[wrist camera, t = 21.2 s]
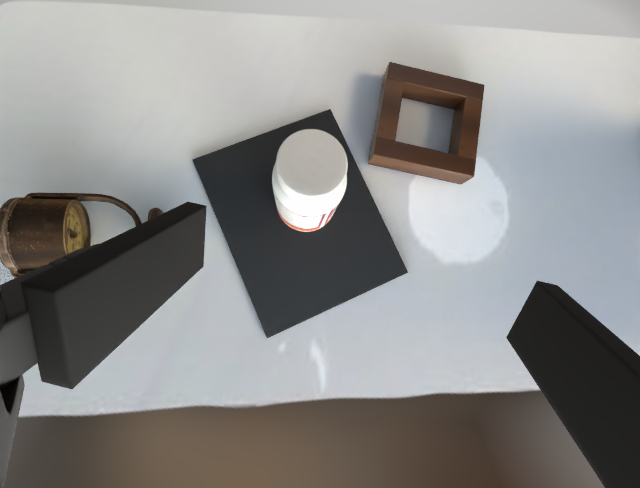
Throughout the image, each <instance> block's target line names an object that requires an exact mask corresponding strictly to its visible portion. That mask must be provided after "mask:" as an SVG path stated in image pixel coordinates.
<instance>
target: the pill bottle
mask: <svg viewBox="0 0 640 488" xmlns="http://www.w3.org/2000/svg"><path fill="white" fill-rule="evenodd" d="M347 168H348V161H347V156H346V153H345V150H344V148H343V146H342V145H341V144H340V142H339V141H338V140H337V139H336V138H335V137H333V136H332V135H330V134H329V133H327V132H324V131H321V130H317V129H305V130H301V131H298V132H295V133H293V134H292V135H290V136H289V137H288V138H286V139H285V140H284V142H283V143H282V144H281V146H280V148H279V150H278V153H277V157H276V163H275V165H274V168H273V173H272V186H273V192H274V197H275V202H276V206H277V210H278V213H279V215H280V217H281V219H282V220H283V221H284V222H285V223H286V224H287V225H288V226H289V227H291V228H293V229H295V230H298V231H303V232H309V231H314V230H317V229H319V228H321V227H323V226H324V225H325V224H326V223H327V222H328V221H329V220H330V219H331V217H332V216H333V214H334V212H335V210H336V208H337V206H338V205H339V203H340V201H341V200H342V198H343V195H344V193H345V190H346V185H347V175H346V173H347Z"/></svg>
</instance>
